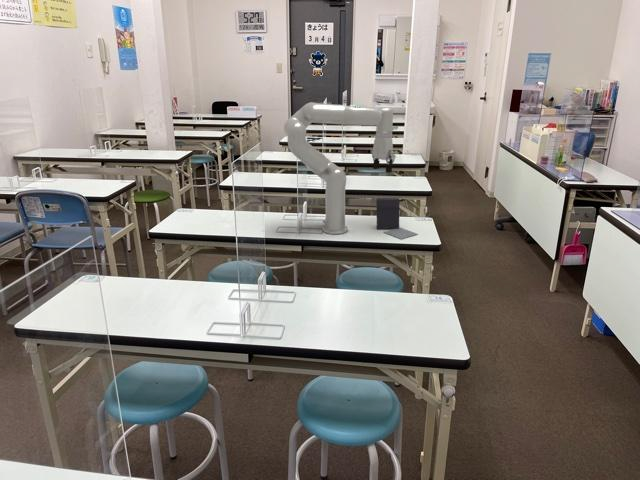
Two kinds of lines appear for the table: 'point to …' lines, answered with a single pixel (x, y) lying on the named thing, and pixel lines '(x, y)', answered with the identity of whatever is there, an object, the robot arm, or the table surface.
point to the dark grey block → (387, 213)
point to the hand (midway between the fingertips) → (382, 170)
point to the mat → (400, 233)
